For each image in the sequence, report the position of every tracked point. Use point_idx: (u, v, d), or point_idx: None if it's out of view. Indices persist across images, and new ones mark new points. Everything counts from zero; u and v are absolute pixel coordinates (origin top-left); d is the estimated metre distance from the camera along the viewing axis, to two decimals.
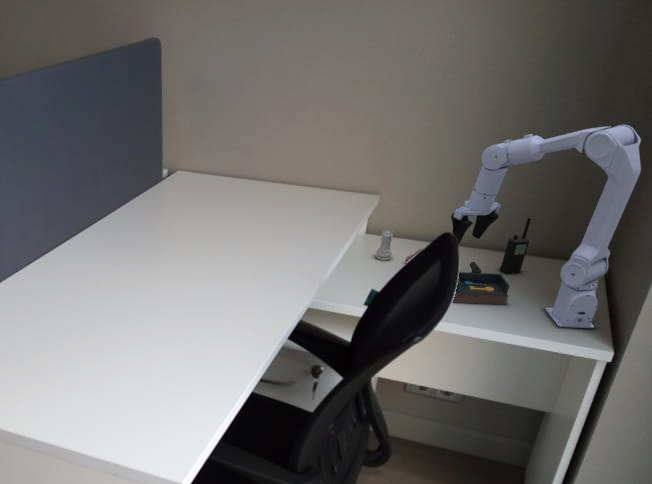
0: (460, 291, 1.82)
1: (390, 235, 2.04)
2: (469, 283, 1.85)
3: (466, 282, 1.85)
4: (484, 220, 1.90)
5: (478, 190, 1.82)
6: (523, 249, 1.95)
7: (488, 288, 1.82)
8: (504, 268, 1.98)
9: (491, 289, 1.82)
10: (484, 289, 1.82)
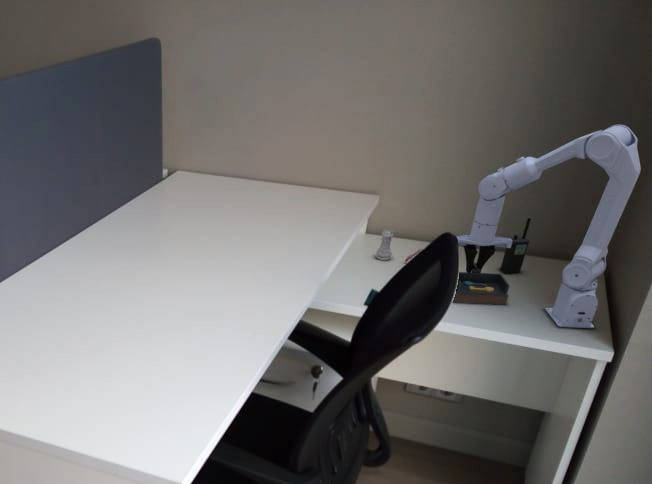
0: (460, 291, 1.82)
1: (390, 235, 2.04)
2: (469, 283, 1.85)
3: (466, 282, 1.85)
4: (482, 254, 1.86)
5: (480, 221, 1.80)
6: (523, 249, 1.95)
7: (488, 288, 1.82)
8: (504, 268, 1.98)
9: (491, 289, 1.82)
10: (484, 289, 1.82)
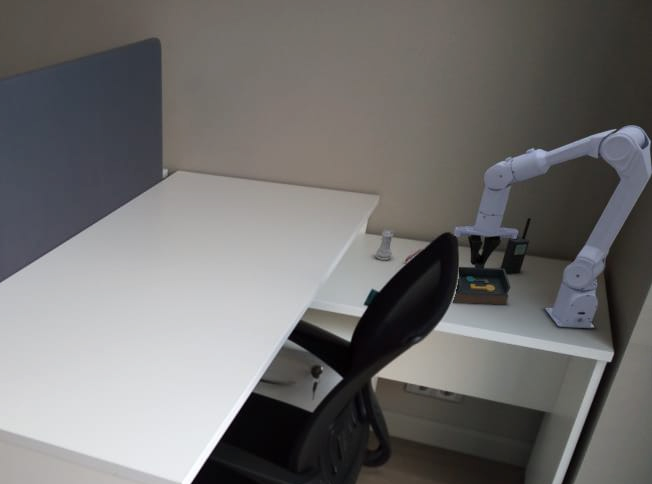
0: (460, 291, 1.82)
1: (390, 235, 2.04)
2: (471, 279, 1.84)
3: (468, 278, 1.84)
4: (487, 245, 1.82)
5: (486, 212, 1.77)
6: (523, 249, 1.95)
7: (489, 287, 1.82)
8: (504, 268, 1.98)
9: (492, 289, 1.81)
10: (485, 288, 1.82)
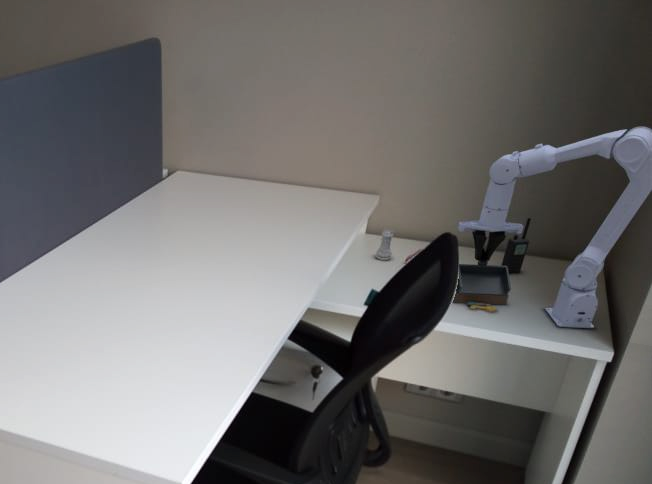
0: (460, 291, 1.82)
1: (390, 235, 2.04)
2: (472, 302, 1.81)
3: (469, 302, 1.82)
4: (491, 240, 1.80)
5: (491, 207, 1.74)
6: (523, 249, 1.95)
7: None
8: None
9: None
10: None
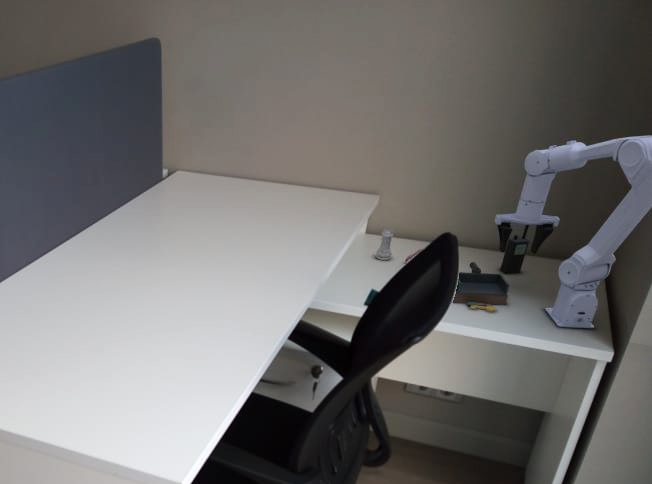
0: (460, 291, 1.82)
1: (390, 235, 2.04)
2: (472, 302, 1.81)
3: (469, 302, 1.82)
4: (539, 233, 1.82)
5: (523, 198, 1.78)
6: (523, 249, 1.95)
7: None
8: (504, 268, 1.98)
9: None
10: None
